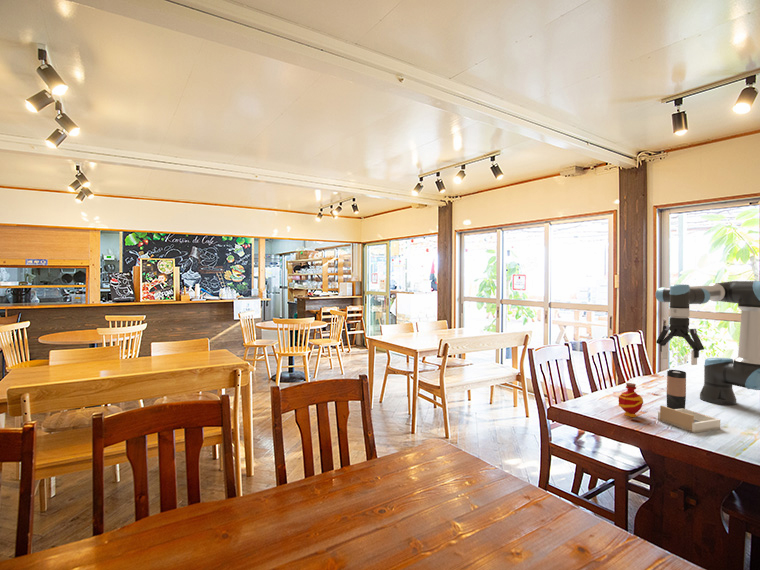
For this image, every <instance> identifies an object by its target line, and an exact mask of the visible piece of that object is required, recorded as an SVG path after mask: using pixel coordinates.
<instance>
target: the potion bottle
mask: <svg viewBox="0 0 760 570" xmlns="http://www.w3.org/2000/svg"><path fill="white" fill-rule="evenodd" d="M625 385H626V386H625V389H627V391H623V392H622V393H620V395H619V396H618V407H620V408H621V409H622V410H623V411H624V412H625V413H624V414H623V415H624V416H625V417H626V416H627V417H629V416H630V418H637V417H638V416H637V413H638V412H639V411H640V410H641V409H642V407H643V404H644V400H643V396H641V394H638V393H637V392H636V391H635V390H636V389H637V387H636V385H637V384H635V383H632V382H626V383H625Z"/></svg>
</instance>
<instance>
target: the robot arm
mask: <svg viewBox="0 0 760 570" xmlns="http://www.w3.org/2000/svg"><path fill="white" fill-rule="evenodd" d="M655 299H656V300H657V301H658V302H662V303H669V319H668V320H669V325H663V326H662V330H661V332H660V334H659V336H658V337H657V340H656V341H655V343H656V344H658V345H659V346H660V347H659V348H660V349H659V350H660V352H661V359H662V360H667V359H668V345H667V344H668V343H669V342H670V341H671V340H672V339H673V338H674V337H679V338H682V339H684V340H685V341H686V342H687V344H688V345H689V346H690V347H691V350H690V351H691V352H690V353H691V358H690V359H691V360H690V361H691V365H692V366H695V365H698V359H699V357H700V351H704V350H705V347H704V345H703V342H702V341H701V339H700V338H699V335H698V333H697V329H696V328H689V326H690V318H689V317H690V305H704V304H706V303H709V301H711V302H724V303H730V304H731V303H732V304H737V307H738V308H739V309H740V310H741V312H740V313H741V314H740V326H739V340H738V350H737V351H738V352H737V353H738V354H737V357H735V358H734V359H733V358H731V357H730V358H729V357H708V358H706V359H705V360H704V365H703V366H704V367H703V368H704V374H703V375H704V380H703V386H702V389H701V391H700V392H699V399H700V400H702V401H704V402H706V403H707V402H709V403H710V404H711V403H712V404H718V405H724V406H726V405H727V406H735V405H736V404H737V398H736V395H735V393H734V390H733V386H735V387H740V388H745V389H747V390H754V391H760V281H759V280H749V281H748V280H747V281H744V280H743V281H742V280H739V281H738V280H736V281H735V280H733V281H724V282H716V283H714V282H713V283H709V285H695V286H694V285H693V286H690V285H689V284H671V285H670V286H669V287H659V288H658V289H656V291H655ZM669 331H670V332H669ZM668 332H669V333H668Z"/></svg>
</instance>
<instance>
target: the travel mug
mask: <svg viewBox="0 0 760 570" xmlns="http://www.w3.org/2000/svg"><path fill="white" fill-rule="evenodd" d="M686 399H687V372H686V371H684V370H678V369H669V370H666V407H668V408H671V409H681V408H683V409H686Z"/></svg>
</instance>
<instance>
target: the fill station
mask: <svg viewBox="0 0 760 570" xmlns="http://www.w3.org/2000/svg"><path fill="white" fill-rule="evenodd" d="M657 421H659V422H661V423H665V424H668V425H670V426H673V427H677V428H680V429H682V430H684V431H685V430H686V431H687V432H691V433H693V434H697V433H704V432H709V431H714V430H716V431H717V430H720V429H721V419H719V418H716V417H712V416H709V415H705V414H702V413H700V412H696V411H692V410H689V409H686V408H685V409H683V408H681V409H671V408H668V407H667V406H664V405H660V407H659V411H657Z"/></svg>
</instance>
